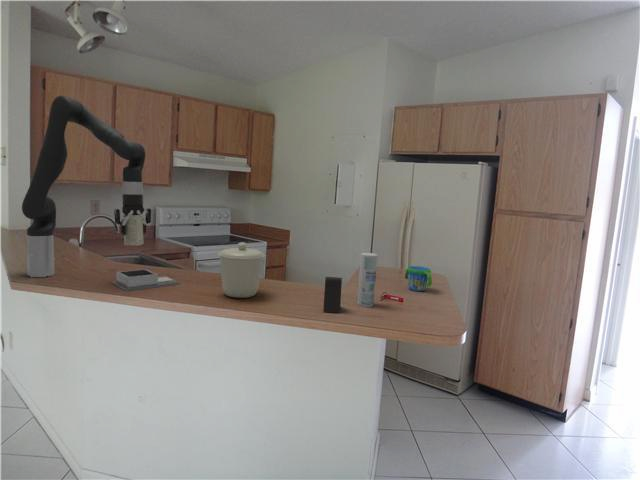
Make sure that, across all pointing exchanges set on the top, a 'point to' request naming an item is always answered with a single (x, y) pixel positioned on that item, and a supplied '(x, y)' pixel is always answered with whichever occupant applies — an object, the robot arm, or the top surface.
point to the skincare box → (134, 231)
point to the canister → (241, 271)
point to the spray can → (367, 279)
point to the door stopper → (332, 294)
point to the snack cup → (418, 278)
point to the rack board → (141, 280)
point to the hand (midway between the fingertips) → (133, 234)
